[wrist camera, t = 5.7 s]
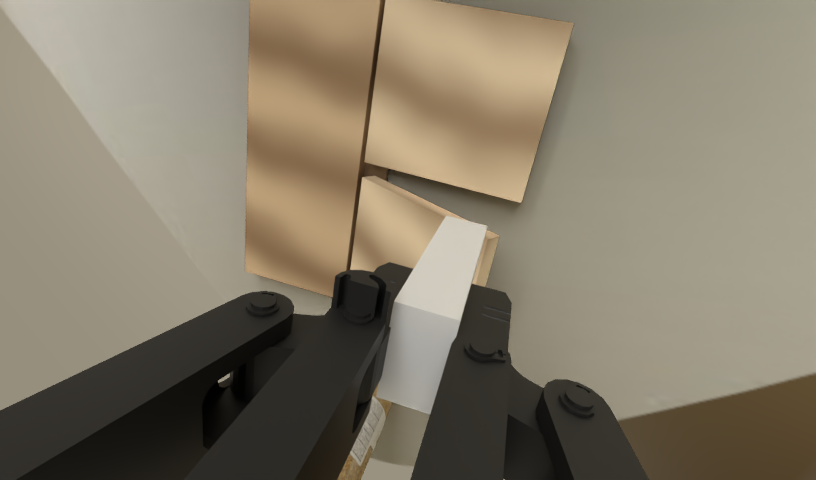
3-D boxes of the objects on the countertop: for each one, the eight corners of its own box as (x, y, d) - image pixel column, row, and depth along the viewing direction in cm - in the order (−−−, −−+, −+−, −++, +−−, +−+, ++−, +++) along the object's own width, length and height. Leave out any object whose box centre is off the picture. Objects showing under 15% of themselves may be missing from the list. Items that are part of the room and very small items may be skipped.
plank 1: (393, -5, 25) (386, -8, 24) (573, 25, 23) (574, 23, 22) (371, 158, 29) (364, 162, 28) (522, 198, 26) (521, 203, 25)
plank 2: (375, 175, 29) (362, 177, 28) (499, 235, 23) (487, 239, 22) (357, 297, 33) (345, 301, 32) (460, 375, 27) (449, 382, 26)
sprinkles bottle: (375, 412, 37) (300, 578, 25) (337, 376, 37) (242, 527, 25) (410, 387, 35) (347, 554, 23) (370, 349, 35) (285, 498, 23)
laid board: (265, -26, 27) (250, -31, 25) (414, -1, 25) (407, -4, 24) (256, 262, 35) (244, 271, 33) (368, 295, 33) (361, 306, 32)
